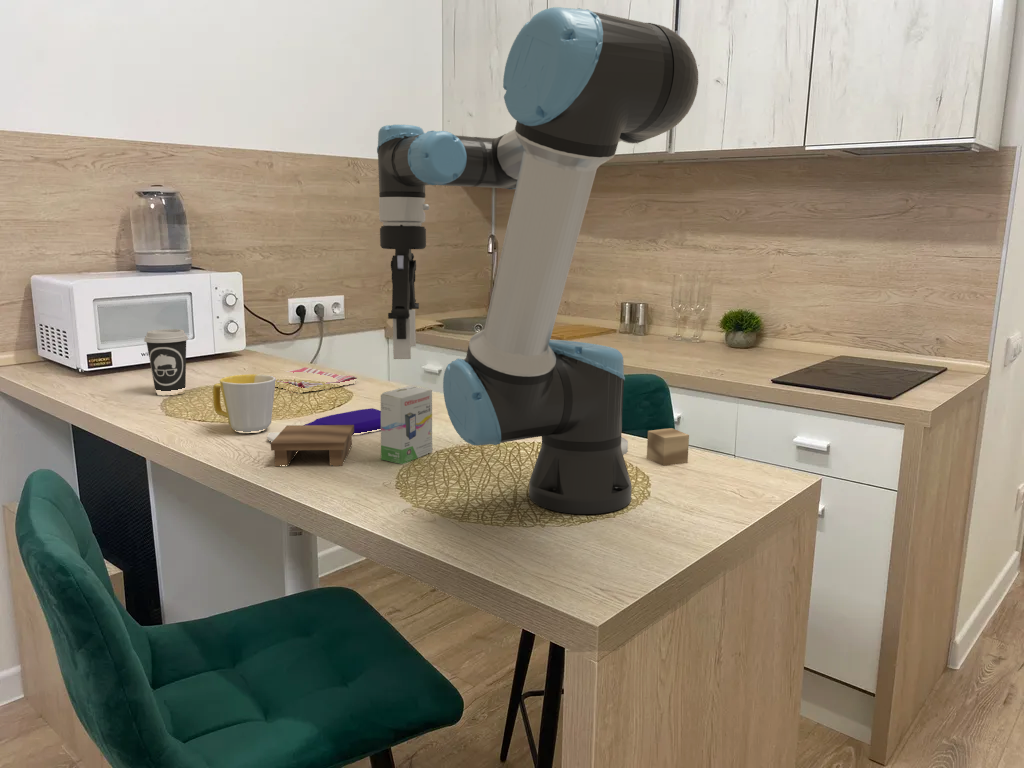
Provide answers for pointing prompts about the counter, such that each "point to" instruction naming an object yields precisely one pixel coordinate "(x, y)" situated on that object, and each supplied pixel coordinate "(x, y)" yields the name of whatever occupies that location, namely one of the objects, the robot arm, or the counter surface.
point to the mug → (246, 401)
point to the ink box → (406, 424)
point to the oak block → (667, 446)
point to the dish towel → (310, 370)
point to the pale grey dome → (624, 445)
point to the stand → (313, 442)
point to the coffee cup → (167, 358)
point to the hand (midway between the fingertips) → (405, 352)
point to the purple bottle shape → (348, 421)
